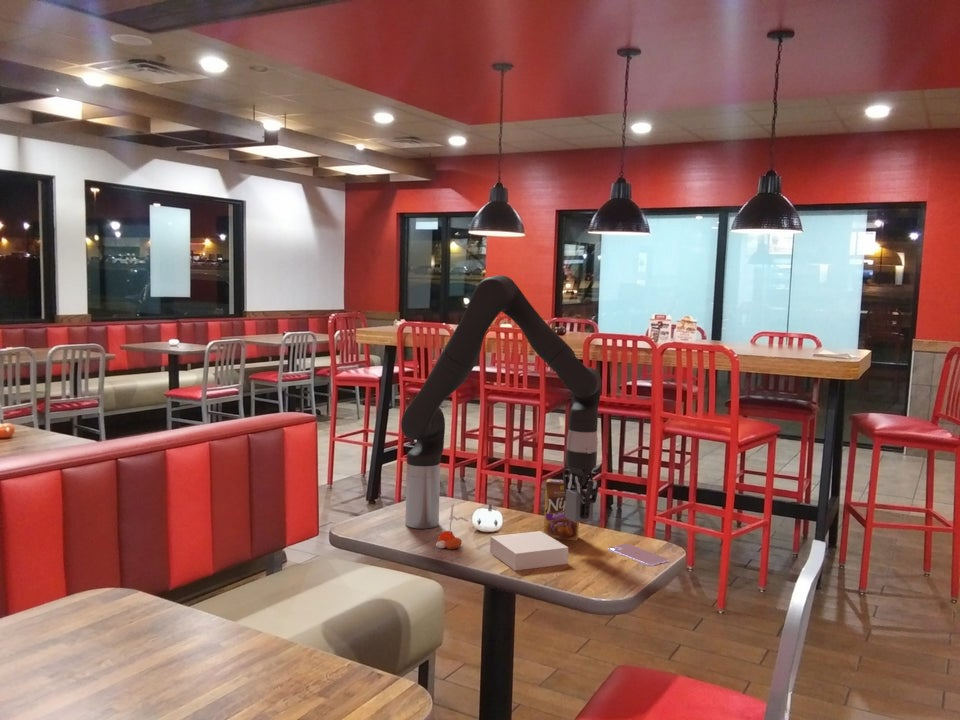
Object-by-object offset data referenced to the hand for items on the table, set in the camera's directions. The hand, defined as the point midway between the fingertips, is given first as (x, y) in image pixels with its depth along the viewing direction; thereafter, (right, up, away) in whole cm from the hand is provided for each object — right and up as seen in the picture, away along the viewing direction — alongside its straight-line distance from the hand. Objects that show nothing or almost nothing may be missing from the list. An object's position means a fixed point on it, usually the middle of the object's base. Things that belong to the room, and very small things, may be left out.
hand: (578, 514), depth 194 cm
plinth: (-13, -9, -5) cm, 17 cm away
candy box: (-3, -9, +12) cm, 15 cm away
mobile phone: (+15, -10, -1) cm, 18 cm away
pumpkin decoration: (-32, -9, +1) cm, 33 cm away
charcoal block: (0, -1, 0) cm, 1 cm away
